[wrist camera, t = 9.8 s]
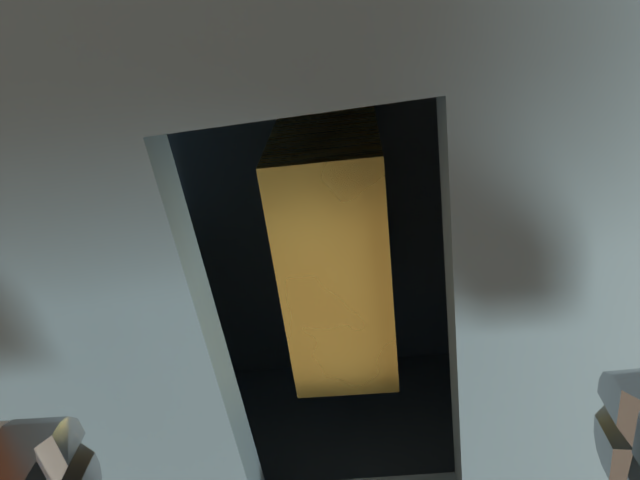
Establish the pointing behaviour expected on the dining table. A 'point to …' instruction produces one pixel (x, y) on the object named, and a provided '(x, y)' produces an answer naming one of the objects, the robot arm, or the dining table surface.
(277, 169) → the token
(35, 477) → the robot arm
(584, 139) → the tissue box
